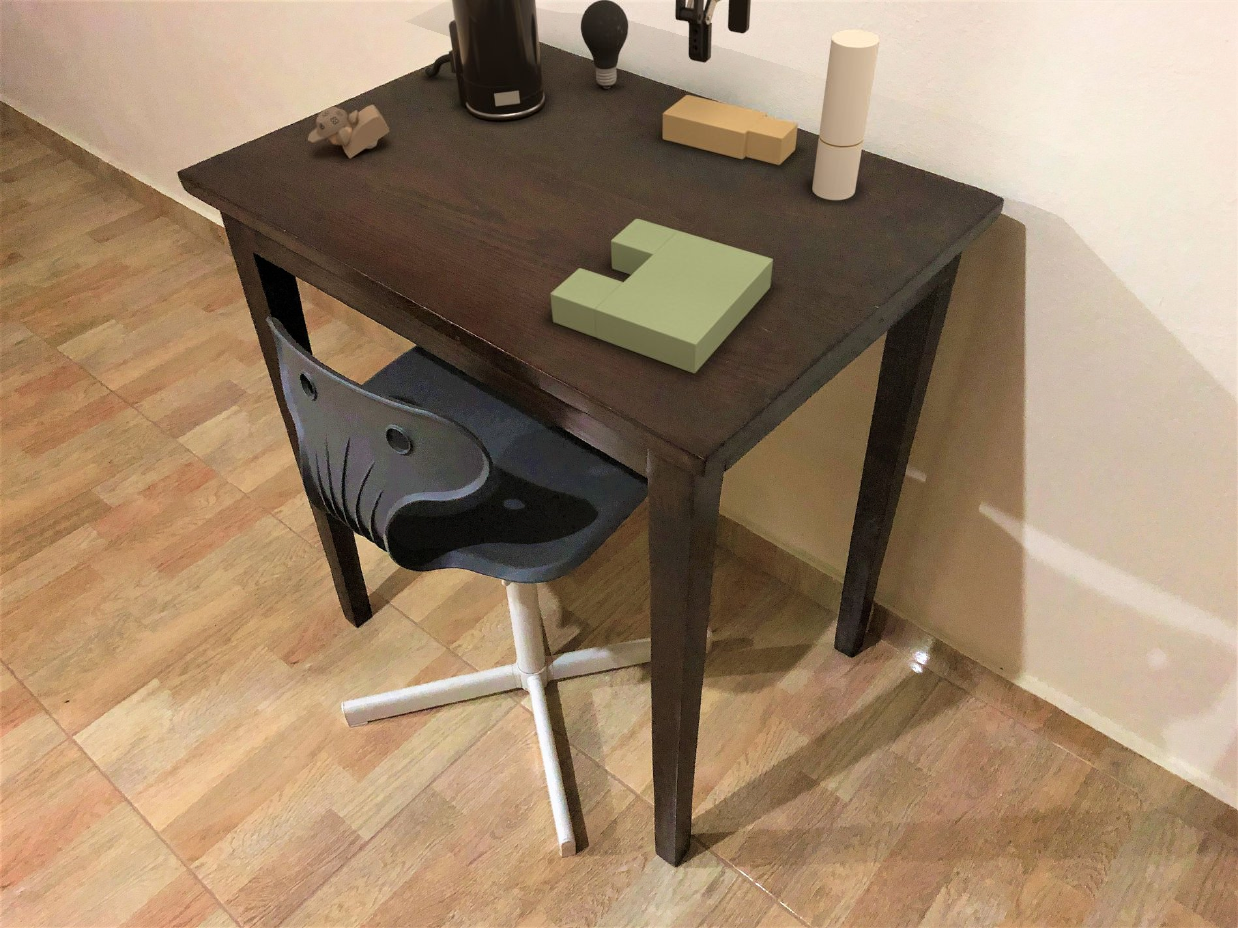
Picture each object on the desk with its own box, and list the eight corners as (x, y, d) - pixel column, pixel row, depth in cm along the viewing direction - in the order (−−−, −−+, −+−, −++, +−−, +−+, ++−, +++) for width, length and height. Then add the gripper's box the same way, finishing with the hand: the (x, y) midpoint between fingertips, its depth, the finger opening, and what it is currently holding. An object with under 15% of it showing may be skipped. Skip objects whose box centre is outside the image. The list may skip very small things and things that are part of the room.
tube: (854, 201, 93) (879, 49, 83) (811, 198, 94) (830, 46, 83) (855, 181, 96) (879, 30, 86) (813, 178, 97) (832, 28, 86)
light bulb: (576, 93, 113) (571, 7, 106) (594, 75, 117) (590, -10, 110) (619, 99, 112) (616, 12, 105) (636, 81, 115) (635, -5, 108)
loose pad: (662, 139, 104) (662, 113, 102) (686, 120, 107) (686, 94, 105) (776, 168, 99) (779, 141, 96) (798, 147, 102) (801, 121, 100)
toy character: (332, 165, 106) (297, 123, 102) (389, 125, 106) (357, 82, 101) (338, 181, 104) (303, 139, 99) (396, 140, 103) (364, 96, 99)
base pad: (552, 322, 80) (549, 293, 78) (636, 246, 89) (636, 218, 87) (694, 374, 75) (695, 344, 73) (770, 287, 83) (773, 258, 81)
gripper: (725, -157, 91) (719, 17, 102) (650, -122, 82) (653, 64, 94) (796, -150, 88) (781, 28, 99) (725, -113, 79) (719, 77, 91)
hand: (719, 45), depth 96 cm, fingers open, 8 cm apart
